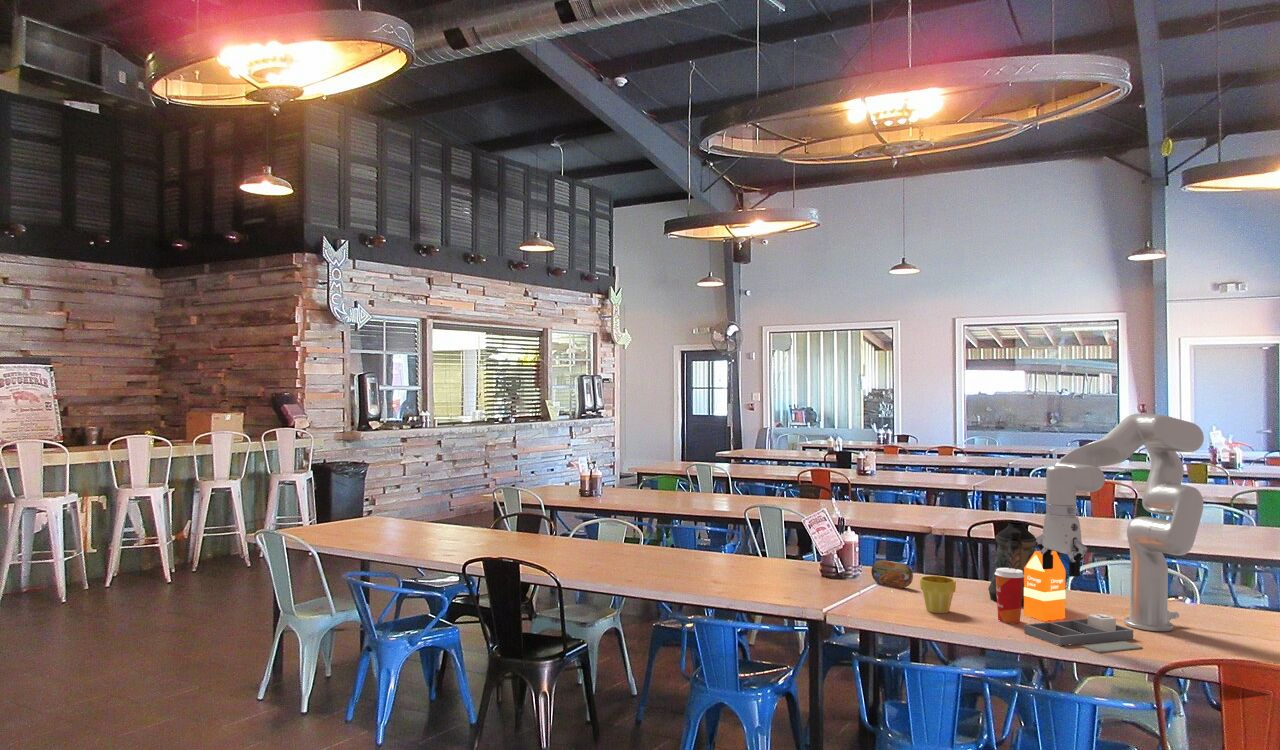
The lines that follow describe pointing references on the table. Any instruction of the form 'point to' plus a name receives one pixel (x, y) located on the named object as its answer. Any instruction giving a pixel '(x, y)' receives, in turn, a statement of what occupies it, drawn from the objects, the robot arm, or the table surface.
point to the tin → (892, 573)
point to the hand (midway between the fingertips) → (1060, 572)
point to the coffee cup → (1009, 594)
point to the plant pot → (937, 593)
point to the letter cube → (1102, 622)
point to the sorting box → (1075, 632)
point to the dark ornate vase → (1012, 552)
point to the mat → (1111, 646)
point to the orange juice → (1044, 589)
